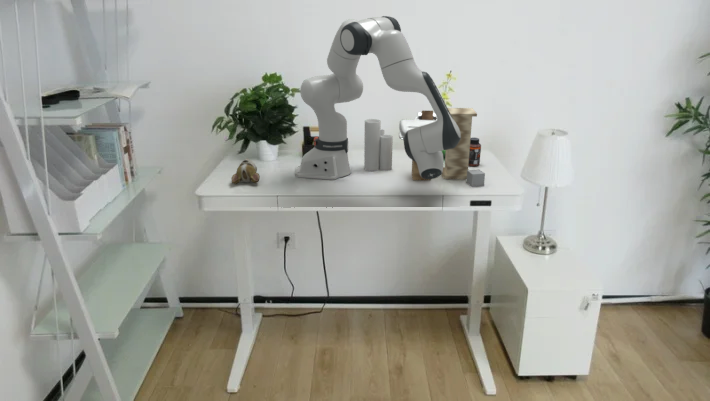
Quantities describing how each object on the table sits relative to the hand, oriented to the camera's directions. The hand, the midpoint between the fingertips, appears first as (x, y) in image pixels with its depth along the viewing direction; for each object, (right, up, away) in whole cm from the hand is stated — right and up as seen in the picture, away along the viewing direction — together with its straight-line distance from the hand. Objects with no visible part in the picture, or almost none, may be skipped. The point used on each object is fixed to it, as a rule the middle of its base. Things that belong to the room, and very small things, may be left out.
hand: (426, 114), depth 201 cm
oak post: (0, -22, +16) cm, 28 cm away
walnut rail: (0, -5, +6) cm, 8 cm away
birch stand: (+14, -21, +19) cm, 32 cm away
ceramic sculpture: (-68, -24, +13) cm, 73 cm away
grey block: (+20, -25, +9) cm, 33 cm away
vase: (-17, -18, +27) cm, 37 cm away
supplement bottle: (+23, -16, +32) cm, 43 cm away
